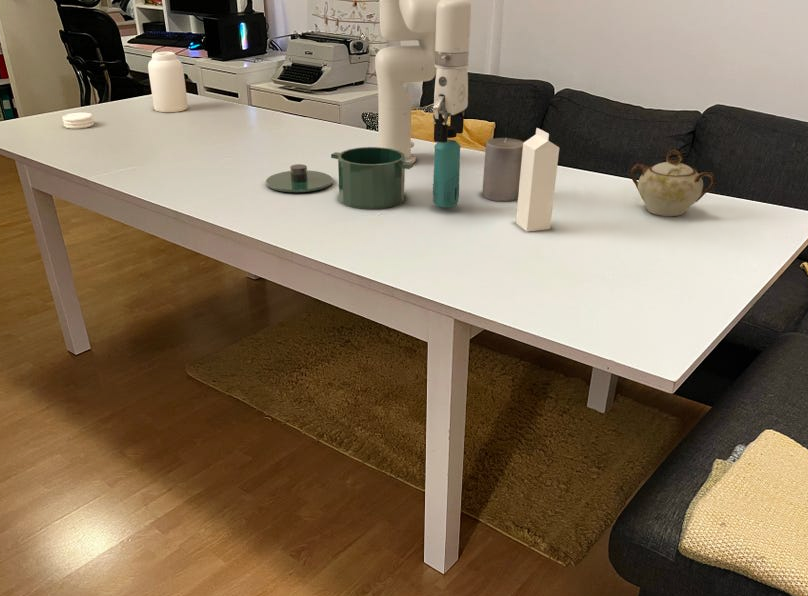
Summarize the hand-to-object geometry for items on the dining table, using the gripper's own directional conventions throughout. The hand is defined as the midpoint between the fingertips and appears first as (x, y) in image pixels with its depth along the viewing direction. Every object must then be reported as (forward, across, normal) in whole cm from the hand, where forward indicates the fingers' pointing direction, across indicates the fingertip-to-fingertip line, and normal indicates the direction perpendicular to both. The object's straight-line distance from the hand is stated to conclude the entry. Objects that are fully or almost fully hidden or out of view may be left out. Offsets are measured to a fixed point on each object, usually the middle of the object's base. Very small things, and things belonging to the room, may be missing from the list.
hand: (448, 137), depth 176 cm
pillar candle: (+18, +16, -9) cm, 26 cm away
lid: (+17, +1, +43) cm, 47 cm away
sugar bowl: (+18, +23, -49) cm, 57 cm away
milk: (+18, -2, -23) cm, 29 cm away
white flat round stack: (+16, +23, +147) cm, 150 cm away
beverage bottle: (+18, 0, 0) cm, 18 cm away
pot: (+18, -1, +20) cm, 27 cm away
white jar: (+16, +58, +136) cm, 149 cm away
